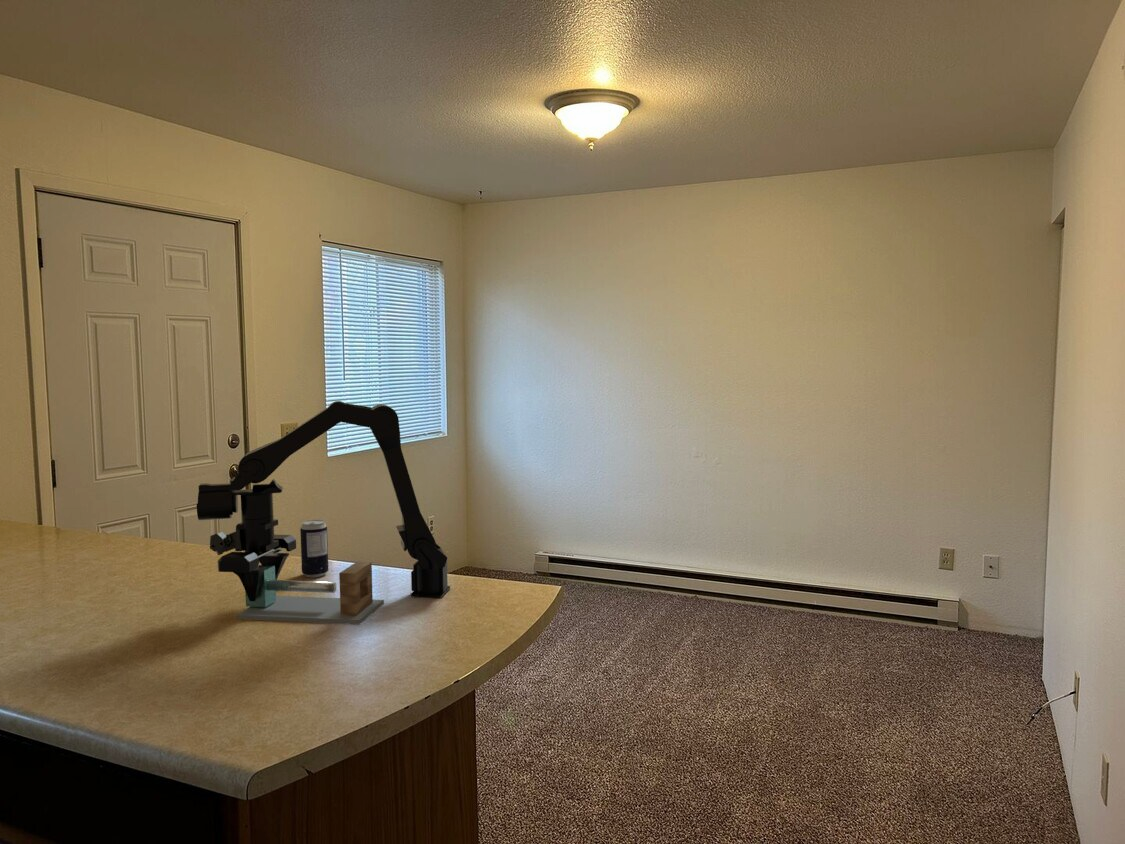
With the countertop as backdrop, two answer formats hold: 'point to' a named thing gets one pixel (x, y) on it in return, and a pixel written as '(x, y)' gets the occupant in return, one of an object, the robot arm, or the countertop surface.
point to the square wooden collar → (355, 588)
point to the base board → (307, 610)
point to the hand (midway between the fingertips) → (260, 596)
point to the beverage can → (314, 548)
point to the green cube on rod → (284, 587)
